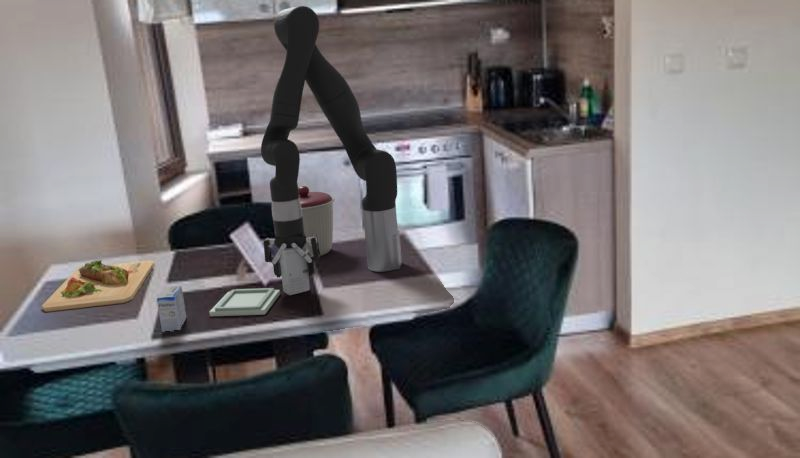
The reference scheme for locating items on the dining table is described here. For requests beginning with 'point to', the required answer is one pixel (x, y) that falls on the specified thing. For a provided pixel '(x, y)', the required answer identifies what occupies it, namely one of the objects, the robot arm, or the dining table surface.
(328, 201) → the canister
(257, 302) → the light green square tray
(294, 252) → the skincare box
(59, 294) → the cutting board
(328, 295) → the dining table surface
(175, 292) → the medicine box
